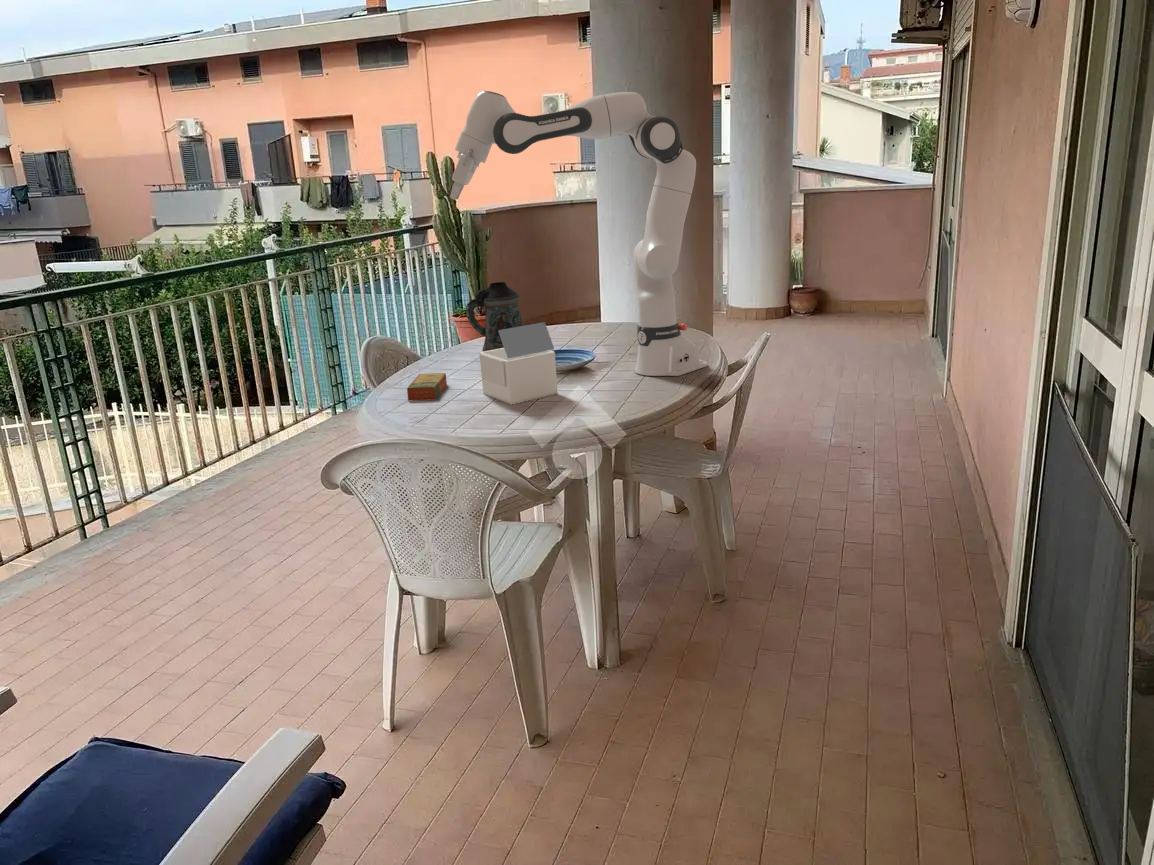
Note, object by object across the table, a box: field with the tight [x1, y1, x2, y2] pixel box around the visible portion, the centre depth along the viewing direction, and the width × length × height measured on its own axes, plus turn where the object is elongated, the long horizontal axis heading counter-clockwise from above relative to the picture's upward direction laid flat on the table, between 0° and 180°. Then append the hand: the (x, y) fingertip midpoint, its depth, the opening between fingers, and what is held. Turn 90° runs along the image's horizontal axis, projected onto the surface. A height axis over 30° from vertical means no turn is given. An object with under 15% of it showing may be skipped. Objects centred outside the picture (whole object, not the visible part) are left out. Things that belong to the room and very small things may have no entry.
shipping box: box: [479, 348, 559, 406], centre depth 231 cm, size 16×17×12 cm
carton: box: [406, 372, 448, 401], centre depth 240 cm, size 8×16×4 cm, turn 177°
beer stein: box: [466, 281, 524, 352], centre depth 275 cm, size 16×19×25 cm
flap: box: [498, 321, 555, 358], centre depth 223 cm, size 14×8×1 cm
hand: (453, 198), depth 228 cm, fingers open, 8 cm apart
